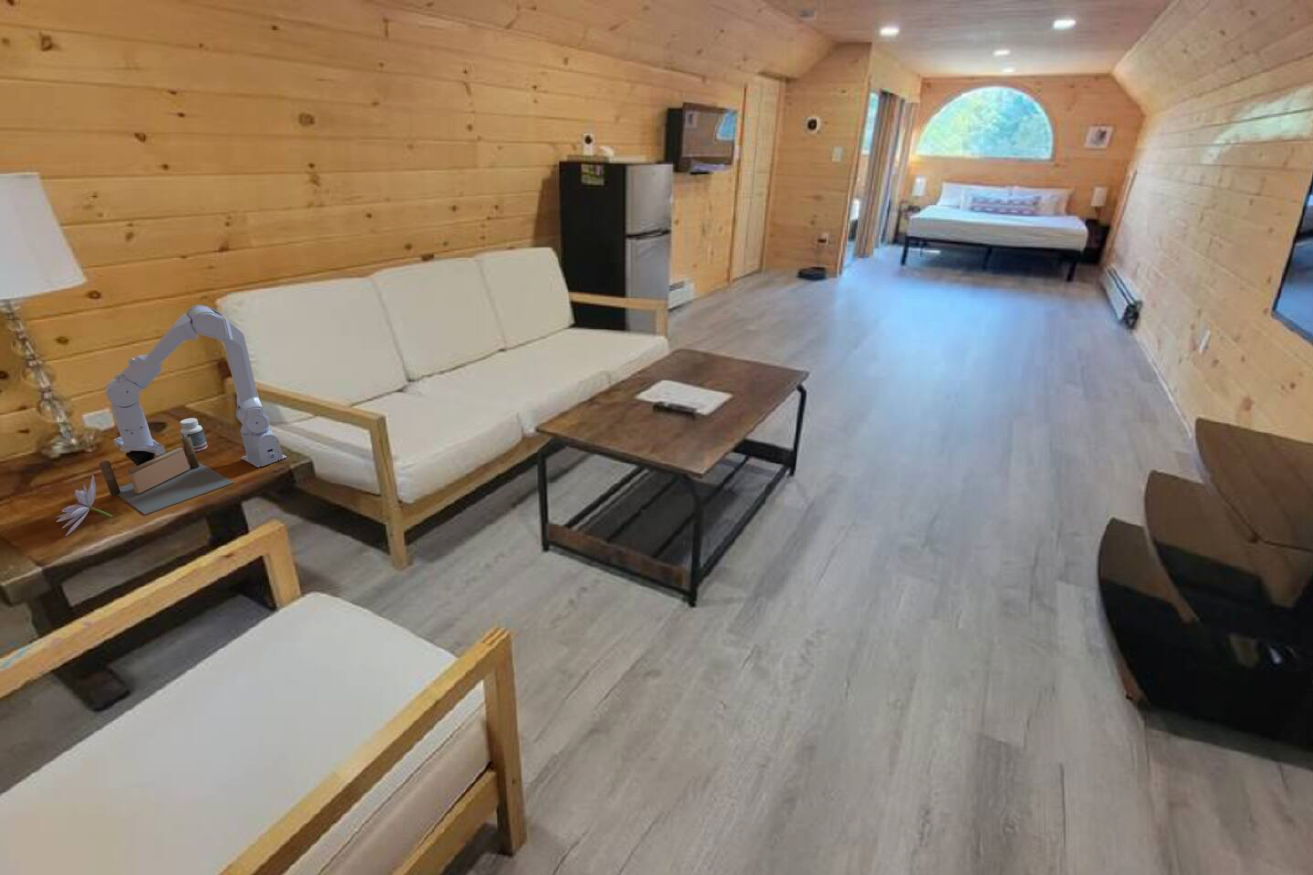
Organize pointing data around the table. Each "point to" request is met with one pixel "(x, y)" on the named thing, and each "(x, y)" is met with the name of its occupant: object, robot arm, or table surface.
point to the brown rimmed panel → (158, 470)
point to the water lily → (81, 507)
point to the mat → (174, 489)
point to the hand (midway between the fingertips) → (148, 475)
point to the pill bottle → (194, 433)
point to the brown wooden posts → (111, 478)
